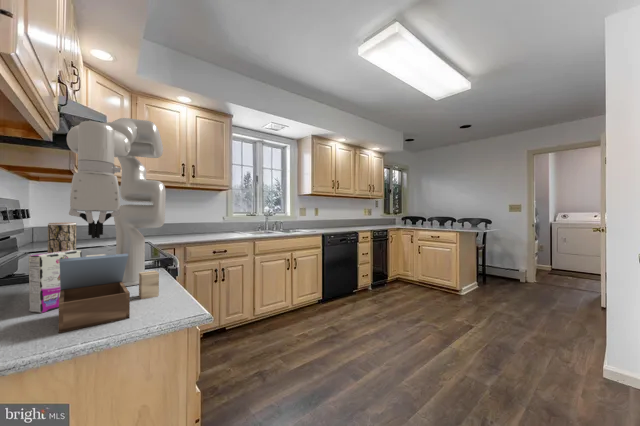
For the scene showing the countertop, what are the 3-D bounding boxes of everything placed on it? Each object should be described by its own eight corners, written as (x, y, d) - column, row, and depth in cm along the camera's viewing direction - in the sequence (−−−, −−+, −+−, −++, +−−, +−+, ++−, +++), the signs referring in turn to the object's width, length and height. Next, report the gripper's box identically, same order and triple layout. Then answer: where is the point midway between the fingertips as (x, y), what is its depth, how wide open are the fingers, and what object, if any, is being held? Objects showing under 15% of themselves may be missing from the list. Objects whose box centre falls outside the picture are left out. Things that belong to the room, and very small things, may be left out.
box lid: (60, 290, 76) (60, 285, 76) (122, 281, 85) (121, 277, 86) (59, 261, 67) (59, 256, 68) (128, 255, 77) (127, 251, 77)
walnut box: (60, 314, 76) (60, 290, 76) (121, 303, 85) (122, 281, 85) (58, 333, 65) (58, 304, 65) (129, 318, 74) (129, 292, 74)
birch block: (138, 295, 94) (139, 272, 94) (155, 292, 97) (155, 270, 97) (141, 299, 90) (141, 275, 90) (158, 296, 93) (158, 273, 93)
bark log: (54, 303, 85) (55, 223, 84) (42, 300, 87) (42, 223, 87) (80, 297, 91) (81, 222, 91) (68, 294, 93) (68, 222, 93)
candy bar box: (70, 299, 88) (70, 249, 88) (82, 301, 87) (83, 250, 87) (27, 312, 77) (27, 254, 77) (40, 313, 76) (41, 255, 76)
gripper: (128, 174, 81) (127, 235, 81) (58, 167, 71) (57, 238, 70) (132, 171, 75) (131, 237, 75) (57, 164, 65) (56, 240, 65)
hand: (95, 237), depth 73 cm, fingers closed
